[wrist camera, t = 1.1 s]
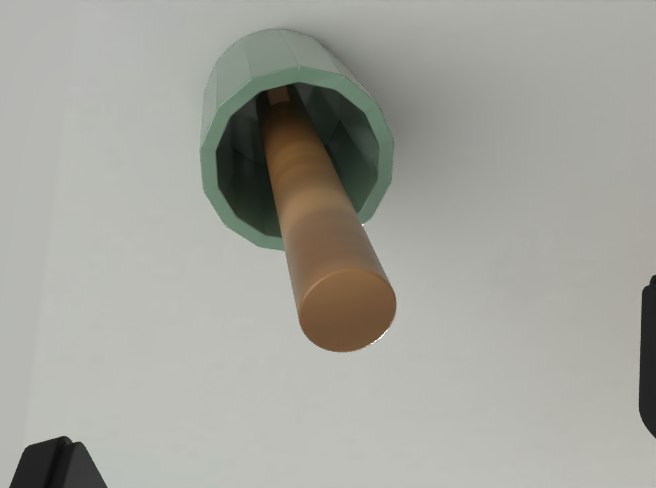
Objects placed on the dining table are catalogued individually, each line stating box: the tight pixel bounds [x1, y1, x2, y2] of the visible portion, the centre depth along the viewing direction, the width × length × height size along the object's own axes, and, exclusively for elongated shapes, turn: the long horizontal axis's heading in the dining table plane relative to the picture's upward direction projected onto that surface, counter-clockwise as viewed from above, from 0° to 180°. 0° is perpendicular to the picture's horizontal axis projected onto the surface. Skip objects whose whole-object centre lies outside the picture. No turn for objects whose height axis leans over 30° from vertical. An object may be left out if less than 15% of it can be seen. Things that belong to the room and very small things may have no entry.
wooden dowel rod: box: [256, 85, 396, 352], centre depth 19 cm, size 3×2×16 cm, turn 11°
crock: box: [200, 29, 394, 251], centre depth 23 cm, size 6×6×8 cm
